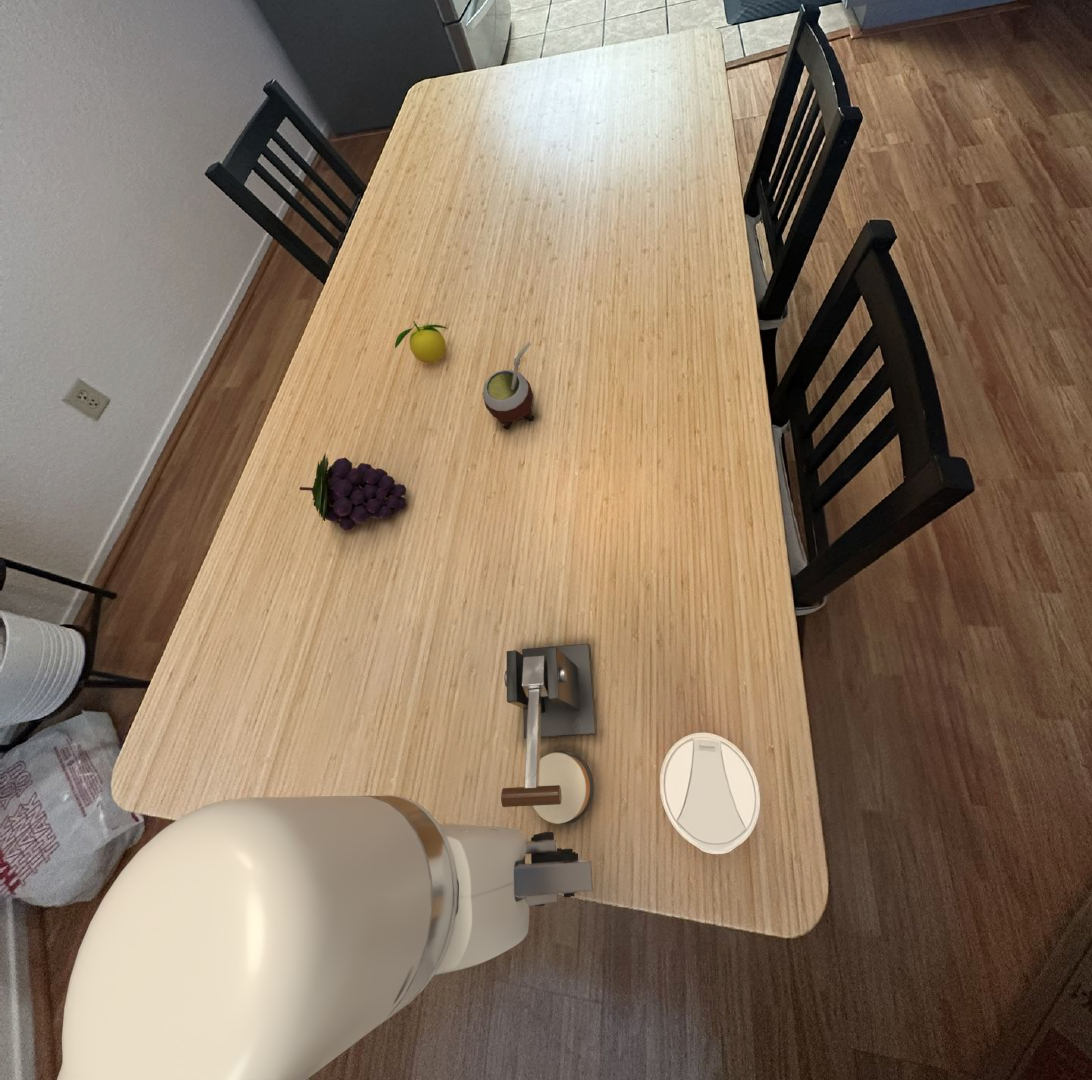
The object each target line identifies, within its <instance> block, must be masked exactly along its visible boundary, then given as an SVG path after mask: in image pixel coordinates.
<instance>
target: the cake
mask: <svg viewBox="0 0 1092 1080" xmlns="http://www.w3.org/2000/svg"><path fill="white" fill-rule="evenodd" d="M587 764H588V763H586V761H585V760H584V759H583V758H582V757H581V756H579V755H578V754H576V753H575V752H573V751H569V750H557V751H554V752H550V753H548V754H546V755H544V756H542V757H540V769H539V786H553V785H560V787H561V794H562V800H561V804H559V805H538V806H532V808H533V809H534V811H535V812H536V814H537V815H538V816H539V817H540V818H541V819H543V820H544V821H546V822H548V823H550V824H554V825H557V824H558V825H570V824H573V823H575V822H577V821H579V820H580V819H582V818H583V817H584V815H585V814H586V813H587V812H588V810H589V809H590V806H591V804H592V800H593V797H594V790H595V789H594V788H595V787H594V779H593V775H592V772H591V769H590V768H589V766H588V765H587Z"/></svg>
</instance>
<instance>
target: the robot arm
mask: <svg viewBox="0 0 1092 1080" xmlns="http://www.w3.org/2000/svg"><path fill="white" fill-rule="evenodd" d="M526 855H530V863H526ZM592 865H593V864H592V860H589V859H585V858H579V853H578V852H576V851H574V849H573V848H562V847H558V845H557V839H555V834H554V831H543V832H539V833H536V834H533V836H531V838H530V840H528V838H527V837H526V835H525V834H524V832H523V831H521V830H520V829H519V828H511V827H504V826H503V827H501V826H493V825H492V826H490V825H474V824H460V823H439V822H438V821H437V819H436V818H435V816H434V815H433V814H432V813H431V812H430V811H428V809H426V807H424V806H423V805H422V804H420V803H419V802H416V801H414V800H413V799H410V798H407V797H404V796H400V795H394V794H393V795H392V794H385V795H384V794H383V795H317V796H316V795H314V796H313V795H312V796H311V795H310V796H308V795H307V796H306V795H305V796H253V797H250V796H249V797H238V798H231V799H224V800H223V799H222V800H219V801H214V802H212V803H208V804H205V805H203V806H201V807H199V808H196V809H193V810H192V811H190V812H188V813H186V814H184V815H182V816H181V817H180V818H178V819H177V820H175V821H173V822H171V823H170V824H168V825H167V826H165V827H164V828H163V829H162V830H160V831H159V832H158V833H157V834H156V835H154V837H152V838H151V839H150V840H149V841H148V842H147V843H146V844H144V845H143V846H142V847H141V848H140V849H139V850H138V851H137V852H136V853H135V855H133V857H132V858H131V860H130V861H129V862H128V863H127V864H126V866H124V868H123V869H122V870H121V871H120V873H119V874H118V876H117V878H116V879H115V880H114V882H113V883H112V885H111V886H110V888H109V889H108V891H107V892H106V894H105V895H104V897H103V899H102V900H101V902H100V904H99V906H98V907H97V909H96V911H95V913H94V915H93V917H92V919H91V920H90V923H89V925H88V928H87V929H86V932H85V935H84V936H83V939H82V941H81V943H80V946H79V949H78V952H77V954H76V958H75V961H74V964H73V967H72V970H71V974H70V977H69V982H68V987H67V993H66V998H65V1002H64V1009H63V1020H62V1022H63V1023H62V1030H61V1031H62V1032H61V1033H62V1034H61V1049H62V1050H61V1053H62V1059H61V1060H62V1061H61V1062H62V1063H61V1067H60V1070H59V1073H58V1075H57V1078H56V1080H308V1079H309V1078H311V1077H312V1076H313V1075H314V1074H316V1073H317V1072H319V1071H320V1070H321V1069H323V1068H324V1067H326V1066H327V1065H328V1064H330V1063H331V1062H332V1061H333V1060H335V1059H336V1058H338V1057H340V1056H341V1055H342V1054H343V1053H344V1052H345V1051H347V1050H348V1049H350V1048H351V1047H352V1046H353V1045H355V1044H357V1043H358V1042H359V1041H360V1040H361V1039H363V1038H364V1037H365V1036H366V1035H369V1034H370V1033H371V1032H373V1031H374V1030H376V1029H377V1028H378V1027H379V1026H381V1025H382V1024H384V1023H385V1022H387V1020H389V1019H390V1018H392V1017H393V1016H395V1015H396V1014H397V1013H399V1012H400V1011H401V1010H402V1009H404V1008H406V1007H407V1006H409V1004H411V1002H413V1001H414V1000H415V999H416V998H417V996H419V995H420V994H421V993H422V992H423V990H424V989H425V988H426V987H427V985H428V984H429V983H430V981H431V980H432V979H433V977H434V976H438V975H442V974H447V973H452V972H457V971H461V970H465V969H468V968H471V967H475V966H477V965H480V964H483V963H486V962H488V961H490V960H492V959H495V958H496V957H498V956H501V955H502V954H504V953H505V952H507V951H509V950H511V949H513V948H514V947H516V946H517V945H519V944H520V943H522V941H524V939H525V938H526V937H527V935H528V933H529V930H530V929H529V928H530V907H532V906H534V907H544V906H545V905H546V904H551V903H552V904H553V903H557V902H559V895H563V898H571V897H575V896H576V894H578V893H588V892H592V891H594V885H593V884H594V883H593V881H594V880H593V867H592Z"/></svg>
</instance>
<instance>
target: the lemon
mask: <svg viewBox="0 0 1092 1080" xmlns="http://www.w3.org/2000/svg"><path fill="white" fill-rule="evenodd" d="M412 323H413V324H414V325H413V326H412V327H410V328H408V329H405V330H403V331H402V332H400V333H399V334H398V335H397V337H396V339H395V341H394V349H396V348H397V347H399V346H400V344H401V343H402V341H403V340H404V338H405V337H406V336H407V335H408V334H409V333H410V332H411V331H412V330H413V331H412V332H411V334H410V336H409V347H410V351H411V353H412V354H413V356H414V357H415V359H417V360H418V361H419V362H421V363H425V364H431V363H436V362H439V361H440V360H441V359H442V358H443V357H444V355H445V353H446V351H447V350H446V349H447V344H446V339H445V337H444V336H443V334H442V332H440V331H439V330H438V328H439V329H447V330H448V329H449V328H448V327H446V326H444V325H441V324H424V325H419V326H418V325H417V323H416V321H415V320H413V322H412Z"/></svg>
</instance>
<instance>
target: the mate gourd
mask: <svg viewBox="0 0 1092 1080" xmlns="http://www.w3.org/2000/svg"><path fill="white" fill-rule="evenodd" d="M530 346H531V342H530V341H528V342H527V343H526V344H525V345H523V347H522V348H521V350H520V351H519V352H518V353H517V355H516V357H514V360H513V369H503V370H499V371H496V372H494V373H493V374H492V375H491V376H489V377H488V379H487V380H486V382H485V384H484V386H483V389H482V397H483V398H482V399H483V402H484V405H485V408H486V410H487V411H488V412H489V413H490V414H491V415H492V417H493V418H495V419H496V420H497V421H498V422H499V423H500V424H501V425H503V426H502V428H503V429H505V430H506V431H508V430H509V429H510V428H511V426H512V425H513V424H514V422H516V421H519V420H521V419H524V420H527V421H529V422H533V421H534V420H535V416H534V415H533V410H532V407H533V400H534V394H533V390H532V386H531V383H530V381H529V380H528V379H527V378H526V377H525V376H524V375H523V374H522V372H518V370H519V366H520V364H521V358H522V356H523V355H524V353H526V351H527V350H528V349H529V347H530Z"/></svg>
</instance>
